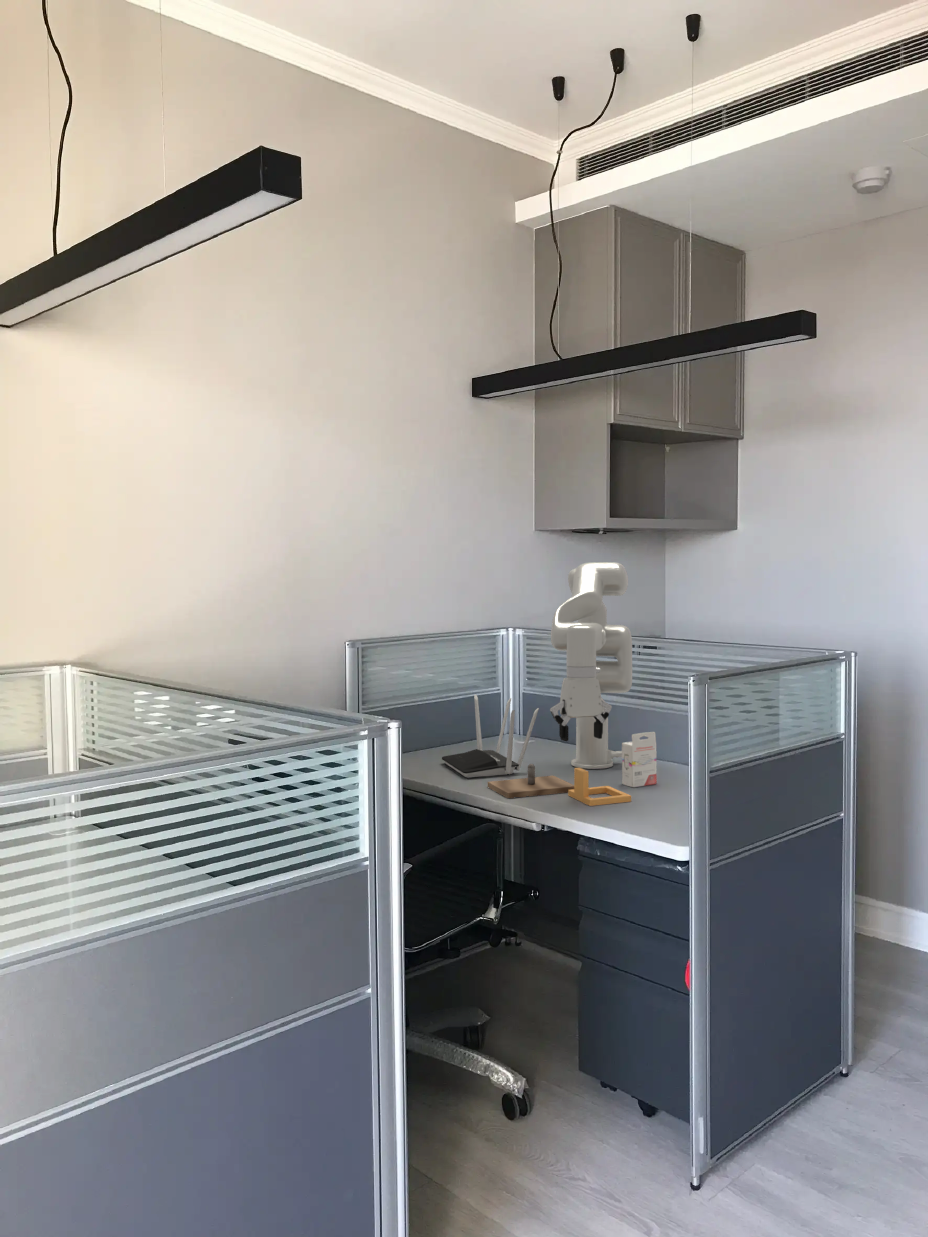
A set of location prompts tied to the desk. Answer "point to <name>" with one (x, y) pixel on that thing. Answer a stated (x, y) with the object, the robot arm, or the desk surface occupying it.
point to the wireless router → (489, 751)
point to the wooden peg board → (530, 785)
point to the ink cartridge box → (639, 760)
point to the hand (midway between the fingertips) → (581, 739)
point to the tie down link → (594, 791)
